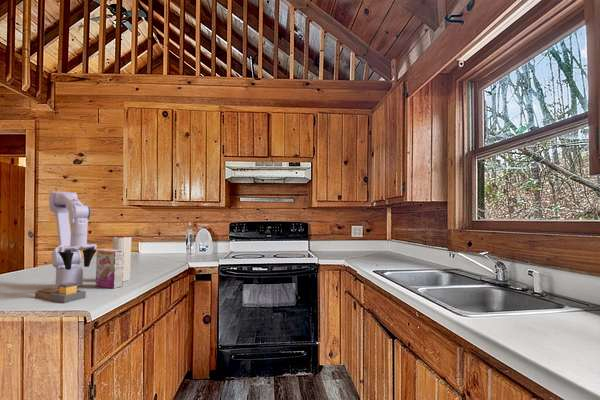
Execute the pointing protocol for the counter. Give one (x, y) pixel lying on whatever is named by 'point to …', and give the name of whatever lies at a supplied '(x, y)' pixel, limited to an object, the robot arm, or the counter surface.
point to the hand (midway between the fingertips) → (77, 268)
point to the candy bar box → (109, 268)
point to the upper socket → (46, 292)
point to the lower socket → (67, 296)
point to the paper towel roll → (125, 246)
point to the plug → (67, 288)
